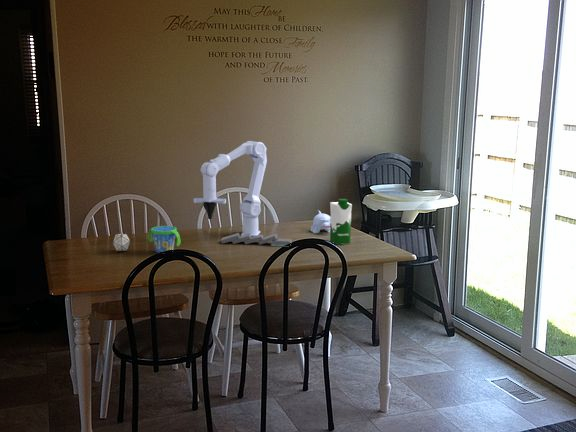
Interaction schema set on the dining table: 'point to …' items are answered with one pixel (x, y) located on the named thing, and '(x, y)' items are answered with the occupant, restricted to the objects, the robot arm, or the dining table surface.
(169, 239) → the snack cup
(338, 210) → the milk carton
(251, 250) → the dining table surface
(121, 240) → the game die
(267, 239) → the domino
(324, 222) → the hippopotamus toy
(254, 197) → the robot arm
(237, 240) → the domino
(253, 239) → the domino
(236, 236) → the domino
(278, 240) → the domino
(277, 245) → the domino
